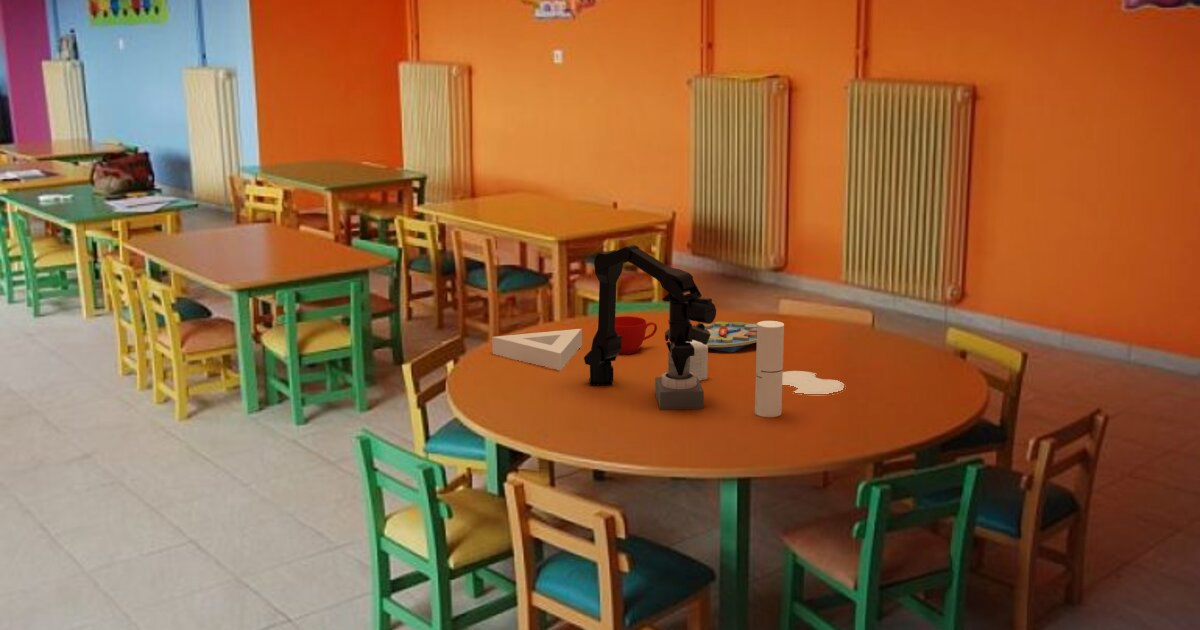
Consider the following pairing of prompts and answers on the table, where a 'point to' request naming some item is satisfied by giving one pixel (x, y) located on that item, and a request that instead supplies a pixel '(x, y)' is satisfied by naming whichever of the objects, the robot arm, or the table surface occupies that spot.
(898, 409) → the table surface
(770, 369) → the cylindrical container
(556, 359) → the triangle block
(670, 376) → the grey rounded block
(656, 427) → the table surface
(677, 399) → the gray ring-topped block
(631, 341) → the ceramic cup
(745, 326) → the shape sorting clock
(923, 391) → the table surface
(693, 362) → the white rounded device
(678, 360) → the robot arm
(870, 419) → the table surface
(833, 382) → the white puddle shape
